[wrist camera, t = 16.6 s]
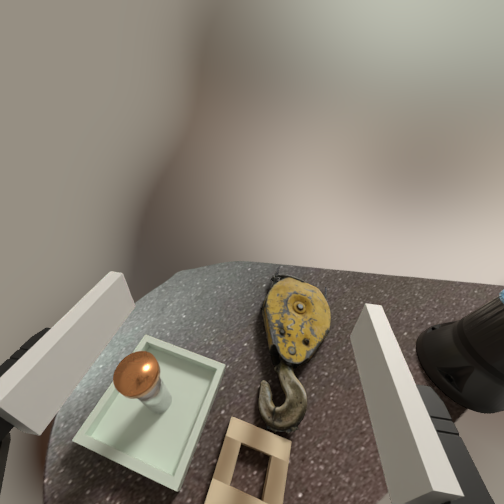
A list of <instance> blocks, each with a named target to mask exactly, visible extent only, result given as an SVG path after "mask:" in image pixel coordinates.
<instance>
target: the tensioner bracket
mask: <svg viewBox="0 0 504 504" xmlns="http://www.w3.org/2000/svg"><path fill="white" fill-rule="evenodd" d="M291 442H292V441H290V440H288V439H285V438H283V437H280V436H278V435H275V434H273V433H271V432H268V431H266V430H263V429H261V428H259V427H256V426H254V425H251V424H249V423H246V422H244V421H242V420H239V419H237V418H234V417H231V421H230V424H229V427H228V430H227V433H226V437H225V440H224V443H223V446H222V449H221V453H220V456H219V459H218V462H217V465H216V469H215V472H214V475H213V478H212V481H211V485H210V488H209V491H208V494H207V497H206V501H205V504H283V497H284V490H285V483H286V476H287V469H288V462H289V455H290V448H291ZM241 444H242V445H245V446H247V447H249V448H252V449H254V450H256V451H259V452H261V453H263V454H266V455H268V456H270V457H269V463H268V468H267V473H266V478H265V484H264V489H263V494H262V499H261V500H260V499H257V498H255V497H253V496H251V495H249V494H247V493H244V492H242V491H240V490H238V489H236V488H234V487H232V486H230V482H231V479H232V475H233V471H234V468H235V464H236V460H237V456H238V453H239V449H240V445H241Z"/></svg>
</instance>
